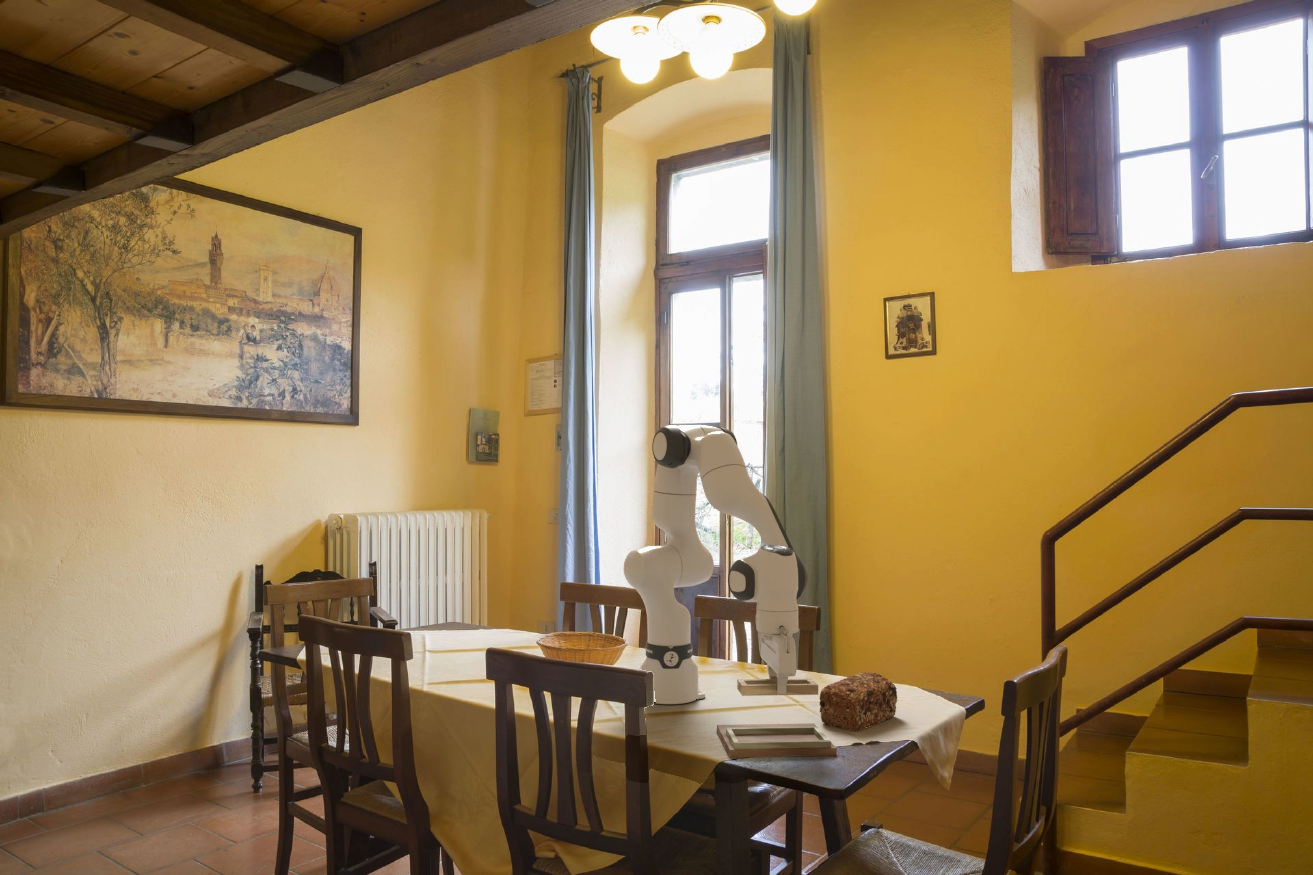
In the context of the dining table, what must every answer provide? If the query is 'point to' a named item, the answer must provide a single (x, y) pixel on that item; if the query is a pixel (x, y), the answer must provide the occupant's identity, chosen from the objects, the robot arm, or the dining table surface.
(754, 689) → the frame
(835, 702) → the bread
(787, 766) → the dining table surface
